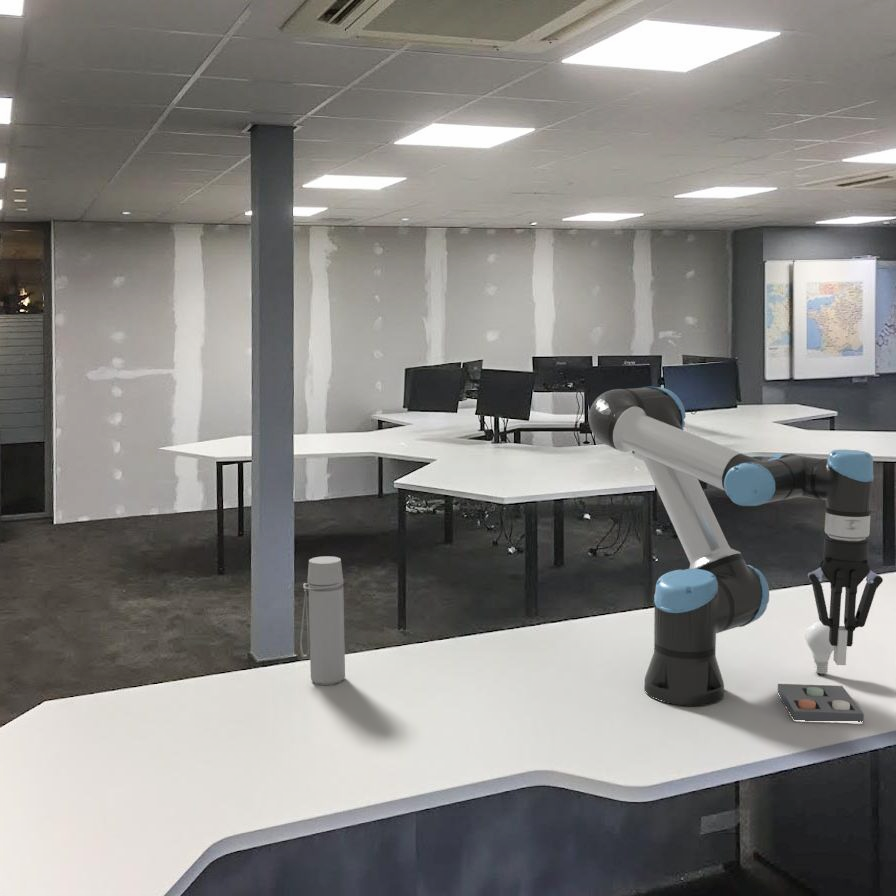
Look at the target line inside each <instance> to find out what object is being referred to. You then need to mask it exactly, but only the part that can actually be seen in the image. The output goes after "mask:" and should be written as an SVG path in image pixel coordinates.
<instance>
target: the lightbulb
mask: <svg viewBox="0 0 896 896" xmlns="http://www.w3.org/2000/svg"><path fill="white" fill-rule="evenodd" d="M829 629H830V628H829V626H825V625H823V624H822V623H821V621H820V620H819V621H815V622H813V623H812V624H810V625H809V626H808V628H807V629H806V630H805V631H806V632H805V641H806V644H807V646H808V648H810V650H811V653H812V658H813V672H815V673H816V674H817V673H819V674H823V675H826V674H827V673H829V671H828V670H829V661H830V658H831V655H832V653H833V652H834V646H832V645H831V644H830V642H829ZM819 674H818V675H819Z"/></svg>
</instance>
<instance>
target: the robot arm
mask: <svg viewBox="0 0 896 896" xmlns="http://www.w3.org/2000/svg"><path fill="white" fill-rule="evenodd" d="M685 418H686V410H685V407H684V405H683V402H682V400H681V399H680V398H679V396H678V395H677V394H675V393H674V391H672V390H670V389H667V388H664V387H657V386H651V385H650V386H643V387H638V388H635V387H634V388H616V389H610V390H607V391H605V392H603V393H601V394H600V395H599V396H597V397H596V398H595V399H594V401H593V402H592V405H591V406H590V409H589V412H588V425H589V429H590V430H591V432H592V435H594V437H595V438H596V439H597V440H598V441H599V442H601V443H602V444H604V445H606V446H608V447H610V448H612V449H614V450H616V451H619V452H622V453H628V452H632V453H631V454H633V457H634V458H635V459H637V460H639V461H640V460H641V461H643V462H644V463H645V467H646V468H647V470H648V472H649V473H648V474H649V475H650V477H651V479H652V482H653V484H654V486H655V488H656V490H657V493H658V495H659V497H660V499H661V501H662V503H663V506H664V508H665V510H666V513H667V515H668V517H669V519H670V522H671V524H672V526H673V528H674V531H675V534H676V535H677V537H678V539H679V541H680V543H681V546H682V548H683V550H684V553H685V555H686V556H687V559H688V561H689V568H685V569H675V570H671V571H668V572H666V573H664V574H662V575H661V576H659V578H658V580H657V581H656V583H655V593H654V595H653V598H654V599H653V603H654V624H653V625H654V631H653V633H654V636H653V637H654V638H653V640H654V642H653V645H654V647H653V654H652V656H651V659H650V662H649V666H648V668H647V671H646V673H645V676H644V684H643V685H644V689H645V690H644V689H643V690H644V692H645V691H646V692H647V693H648V694H649V695H650V696H652V697H654V698H657V699H659V700H662V701H665V702H669V703H672V704H671V705H675V704H678V705H677V706H683V705H686V707H687V706H688V707H698V706H699V707H700V706H701V707H702V706H708V704H709V705H712V704H713V705H714V704H715V703H718V702H720V701H721V700H722V699H723V698H724V696H725V683H724V680H723V675H722V673H721V670H720V667H719V664H718V663H719V662H718V660H717V657H716V652H717V651H716V649H717V648H716V647H717V646H716V645H717V641H716V640H717V634H719V633H722V632H725V631H729V630H733V629H735V628H738V627H739V628H741V627H745V626H747V625H750V624H751V623H753V622H755V621H757V620H758V619H760V618H761V617H762V616H763V615H764V613H765V612H766V610H767V607H768V604H769V602H770V587H769V585H768V581H767V579H766V577H765V575H764V574H763V573H762V572H761V571H760V570H759V568H755V567H754V566H752V565H749V564H746V561H745V559H744V557H743V555H742V553H741V551H739V550H736V549H734V548H731V547H730V545H729V543H728V541H727V539H726V537H725V534H724V532H723V530H722V528H721V526H720V523H719V522H718V520H717V517H716V516H715V513H714V511H713V509H712V507H711V505H710V503H709V500H708V497H707V496H706V493H705V492H704V490H703V488H702V485H701V483H700V481H701V482H704V483H706V484H708V485H711V486H713V487H715V488H717V489H719V490H721V491H722V490H723V491H725V494H726V495H727V497H728V499H730V500H731V501H732V502H733V504H736V505H737V506H740V507H741V506H742V507H758V506H762V505H763V504H769V503H773V502H778V501H784V500H790V499H795V498H807V499H808V498H809V499H815V500H819V501H825V517H824V519H825V520H824V533H825V534H826V535H825V537H824V538H823V551H822V552H823V554H822V555H823V556H822V560H821V562H820V563H819V567H818V568H817V569H815V570H813V571H811V570H809V571H807V572H806V576H807V578H808V580H809V581H810V584H811V585H812V586H811V587H812V592H813V595H814V599H815V600H814V601H815V606H816V610H817V614H818V620H819V621H821V623H822V624H823V625H825V626H829V628H830V629H829V642H830V644H831V645H832V646H834V650H833V662H835V664H836V666H846V665H847V649H848V648H847V647H852V646H853V643H854V642H853V640H854V631H856V629H857V628H859V627H860V628H863V627H865V625H866V622H867V619H868V616H869V613H870V609H871V607H872V604H873V601H874V597H875V595H876V590H878V588H879V586H880V585H881V584H882V583H883V580H884V579H883V577H882V576H880V575H879V574H878V573H875V572H873V571H872V570H871V567H870V565H869V548H870V540H869V539H868V538H869V536H870V531H871V530H870V528H871V512H872V511H871V510H872V509H871V508H872V507H871V506H872V495H873V482H874V479H875V476H874V458H873V455H872V454H871V453H870V452H868V451H864V450H857V449H853V450H852V449H834V450H831V451H830V452H829V453H828V456H827V457H828V458H819V457H818V458H817V457H811V456H805V455H804V456H802V455H799V454H798V455H797V454H795V453H789V454H788V453H787V454H786V453H785V454H784V453H777V454H776V453H775V454H774V455H772V456H771V458H770V459H768V460H761V459H760V460H759V459H757V458H755V457H752V456H750V455H747V454H744V453H742V452H739V451H737V450H734V449H731V448H729V447H727V446H725V445H721V444H719V443H717V442H715V441H714V442H713V441H712V440H710V439H706V438H704V437H701V436H699V435H696V434H694V433H691V432H688V431H686V430H683V429H684V428H685V424H686V421H685ZM823 575H824V577H825V578H826V579H827V581H828V582H829V584H830V599H829V600H830V601H829V602H830V603H829V613H828V610H827V606H826V605H827V604H826V600H825V594H824V589H823V585H822V583H821V582H822V581H823ZM864 579H865V581H866V583H865V586H864V589H863V592H862V594H861V596H860V597H861V598H860V601H859V603H858V606H857V610H856V605H857V604H856V603H857V593H858V586H860V584H861V583H862V582H863V581H864ZM843 588H845V599H844V612H843V613H844V614H843V624H844V625H840V621H841V608H842V607H841V605H842V593H843ZM646 692H645V693H646ZM647 693H646V694H647ZM648 694H647V695H648ZM649 695H648V696H649ZM650 696H649V697H650ZM652 697H651V698H652ZM654 698H653V699H654ZM659 700H658V701H659ZM662 701H661V702H662ZM665 702H664V703H665ZM669 703H668V704H669Z"/></svg>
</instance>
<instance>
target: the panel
mask: <svg viewBox="0 0 896 896" xmlns="http://www.w3.org/2000/svg"><path fill="white" fill-rule="evenodd" d="M808 687H818V688H821V689H823V690H824V695H823V696H807V688H808ZM778 693H779V695H780V697H781V699H782V700H781V699H780V700H781V702H782V701H783V702H784V704H785V705H784V704H783V705H784V707H785V706H786V707H787V709H788V711H789V712H790V714H791V716H792V717H793V719H794V720H805V721H858V722H860V721H861V722H862V721H863V722H864V720H865V719H864V716H865V714H864V712H863V711H862V709H860V707H859V706H858V705H857V703H856V701H854V700H853V698H852V696H851V695H850V694H849V692H848V691H847V690H846V689H845V687H844V686H843V685H828V684H826V685H825V684H799V683H798V684H797V683H795V684H793V683H777V694H778ZM779 695H778V696H779ZM780 697H779V698H780ZM800 699H810V700H813V701H815V702H816V709H803V708H798V701H799V700H800ZM834 700H843V701H847V702H849V703H850V710H832V701H834ZM783 702H782V703H783ZM786 707H785V708H786ZM787 709H786V710H787ZM788 711H787V712H788ZM789 712H788V713H789ZM790 714H789V715H790ZM791 716H790V717H791ZM793 719H792V720H793Z"/></svg>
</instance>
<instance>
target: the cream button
mask: <svg viewBox="0 0 896 896" xmlns="http://www.w3.org/2000/svg"><path fill="white" fill-rule="evenodd" d="M832 710H850V703H849V702H847V701H843V700H834V701H832Z"/></svg>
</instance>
